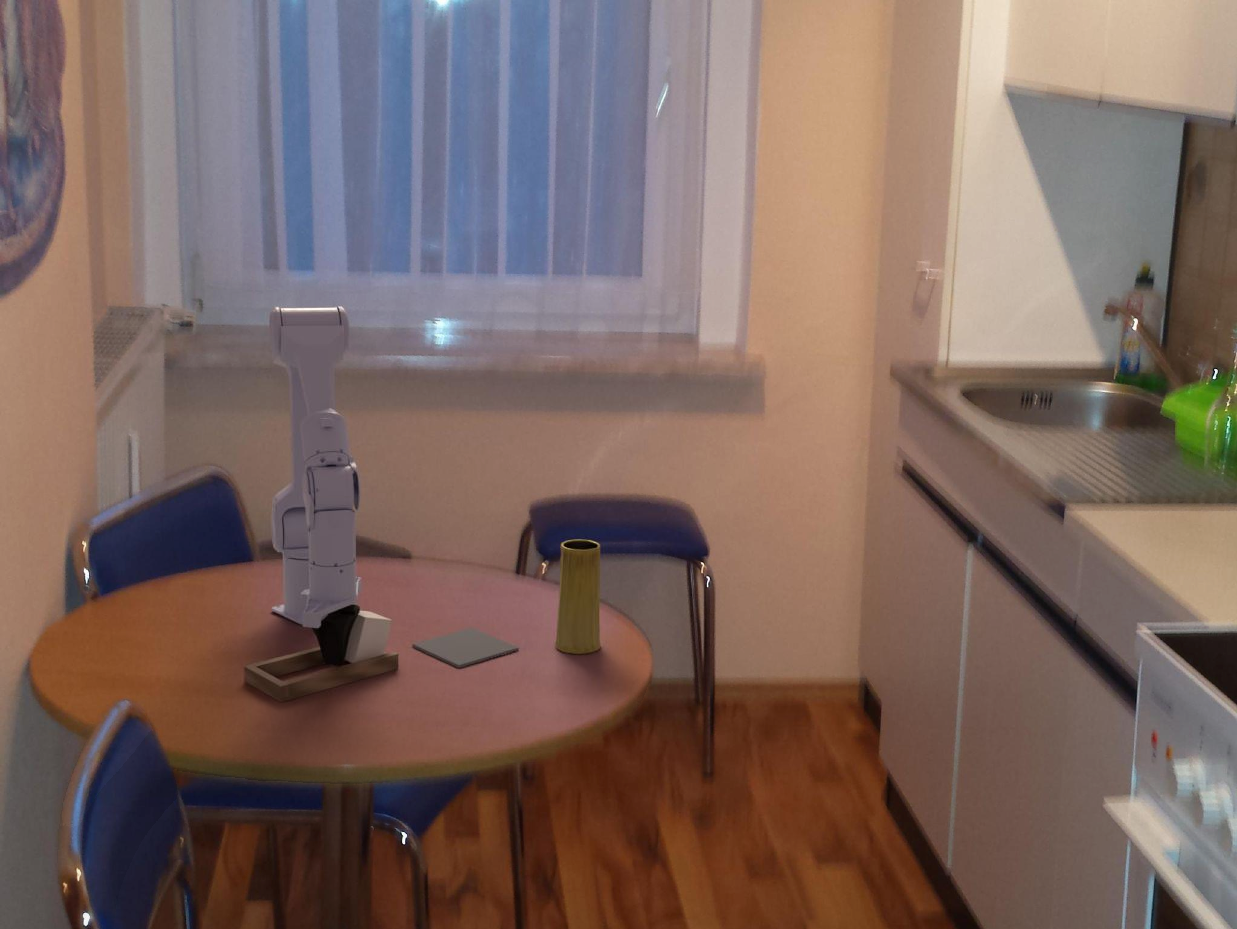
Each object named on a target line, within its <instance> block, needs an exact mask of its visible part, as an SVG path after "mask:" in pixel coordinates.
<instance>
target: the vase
mask: <svg viewBox="0 0 1237 929" xmlns="http://www.w3.org/2000/svg"><path fill="white" fill-rule="evenodd" d="M600 577H601V544H600V543H599V542H597V541H594V540H590V539H582V538H581V539H570V540H565V541H563V542H561V543H560V561H559V589H558V590H559V592H558V606H557V607H558V608H557V621H556V622H557V623H556V624H557V625H556V640H555V642H554V646H555V648H556V649H557V650H558V649H559V651H560V650H561V651H560V652H562V653H565V652H567V653H566V654H570V653H572V655H588V654H593V653H595V652H596V651H599V649H600V648H601V645H602V644H601V639H600V636H601V630H600V629H601V627H600V622H601V621H600V590H601V587H600V585H601V583H600V581H601V580H600ZM587 653H588V654H587Z"/></svg>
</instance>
